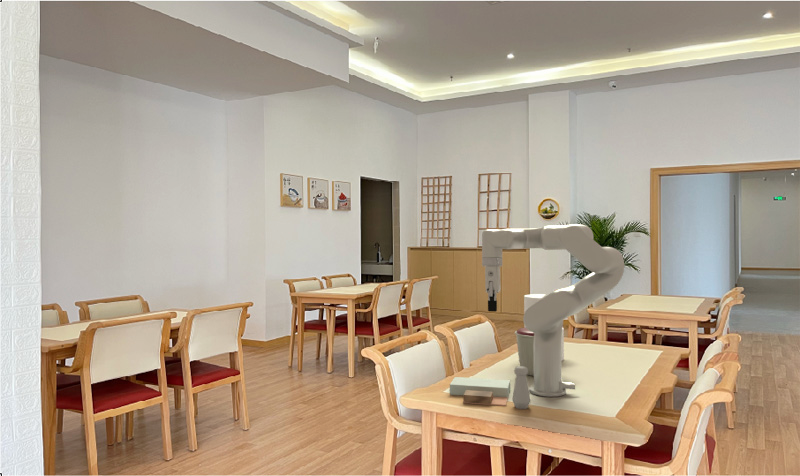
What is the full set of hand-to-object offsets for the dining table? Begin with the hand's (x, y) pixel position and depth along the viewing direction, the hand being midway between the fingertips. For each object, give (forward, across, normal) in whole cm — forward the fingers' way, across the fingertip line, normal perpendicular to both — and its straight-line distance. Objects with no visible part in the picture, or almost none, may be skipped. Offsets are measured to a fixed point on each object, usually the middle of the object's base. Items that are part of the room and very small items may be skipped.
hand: (492, 311), depth 214 cm
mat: (+27, -24, 0) cm, 36 cm away
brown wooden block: (+26, -25, +2) cm, 36 cm away
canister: (+27, +19, -16) cm, 37 cm away
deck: (+27, -14, +3) cm, 30 cm away
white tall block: (+27, +49, -18) cm, 59 cm away
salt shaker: (+27, -28, -12) cm, 41 cm away
